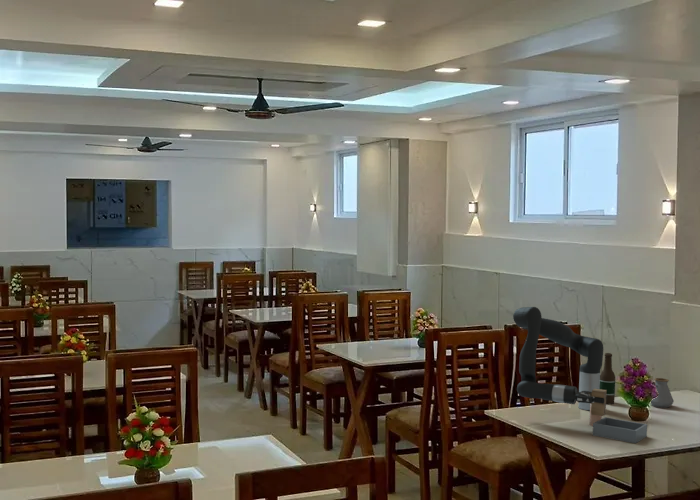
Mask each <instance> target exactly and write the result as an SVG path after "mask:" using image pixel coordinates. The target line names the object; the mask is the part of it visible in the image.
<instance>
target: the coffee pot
mask: <svg viewBox="0 0 700 500" xmlns="http://www.w3.org/2000/svg"><path fill="white" fill-rule="evenodd" d="M654 380H655V383H654V384H655V385H656V388H657V391H658V393H659V395H658V397H657V398H655V399H653V400H652V401H651V403H650V404H651V406H653V407H656V408H662V409H663V408H664V409H666V408H670V406H672V405H673V404H674V399H673V396H672V393H671V391H670V388H669V385H668V383H669V381H670V380H669V379H667V378H662V377H655V378H654Z"/></svg>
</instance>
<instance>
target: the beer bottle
mask: <svg viewBox="0 0 700 500" xmlns="http://www.w3.org/2000/svg"><path fill="white" fill-rule="evenodd" d="M603 357H604V362H603V363H604V364H603V370H601V371H600V389H602V390H607V391H606V396H607V400H606V405H614V404H615V396H616V394H615V393H616V375H615V373H614V370H613V367H612V366H613V365H612V364H613V363H612V361H613V359H612V357H613V353H611V352H605V353H604V354H603Z"/></svg>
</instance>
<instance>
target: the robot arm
mask: <svg viewBox="0 0 700 500" xmlns="http://www.w3.org/2000/svg"><path fill="white" fill-rule="evenodd" d="M512 317H513V318H512V319H513V321H514V323H515V325H516V326H518V327H519V328H521V329H523V330H527V336H526V338H525V342H524V344H523V346H522V348H521V350H520V354H519V359H518V360H519V362H518V365H519V367H518V371H519V372H518V373H519V374H520V380H521V381H520V382H519V383H518V384H517V387H516V391H517V394H518V395H519V396H521V397H523V398H528V399H529V398H530V399H531V398H533V399H540V400H544V401H552V402H556V403H560V404H568V405H575V404H577V403H578V404H577V405H578V406H577V407H578V408H579V409H580V410H584V411H590V403H595V402H596V403H604V398H601V397H594V396H592V390H593V389H600V375H601V368H602V366H603V360H604V359H603V358H604V344H603V342H602V339H599V338H594V337H590V336H584V335H581V334H579V333H575V332H574V331H573V329H572V328H571V327H569V326H568V325H566V324H565V323H562V322H560V321H557V320H554V319H549V318H543V317H542V312H541V310H540V309H539V308H538V307H536V306H526V307H525V306H523V307H519V308H518V309H516V310H515V311H514V313H513V315H512ZM540 336H542V337H544V338H546V339H547V340H549V341H552V342H554V343H555V344H558V345H559V346H560V345H561V346H564V347H566V348H567V347H568V348H569V349H571V350H573V351H575V352H576V353H577V354H579V355H580V356H583V357H586V358H587V361H586V362H585V363H582V364H580V365H579V381H578V382H579V383H578V388H577V386H574V385H565V384H554V383H553V384H552V383H542V382H541V383H539V382H537V377H536V365H537V363H536V361H537V358H536V356H537V347H538V343H539V337H540ZM606 400H607V396H606Z"/></svg>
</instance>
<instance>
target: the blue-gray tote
mask: <svg viewBox="0 0 700 500" xmlns="http://www.w3.org/2000/svg"><path fill="white" fill-rule="evenodd" d="M647 432H648V424H646V423H642V422H641V423H640V422H635V421H629V420H622V419H618V418H611V417H606V416H603V417H602V419H600V420H598V421H596V422H595V423H593V426H592V436H594V437H601V438H604V439H605V438H606V439H611V440H616V441H621V442H626V443H630V444H637V443H639V442H640V441H641V440H644V439H646V437H647V436H648V435H647V434H648V433H647Z"/></svg>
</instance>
